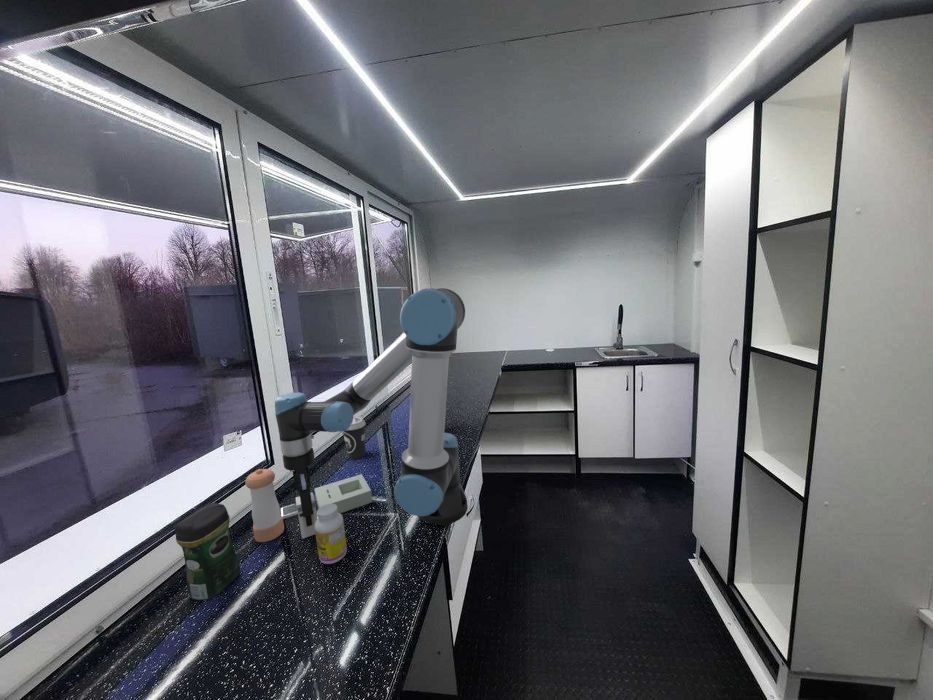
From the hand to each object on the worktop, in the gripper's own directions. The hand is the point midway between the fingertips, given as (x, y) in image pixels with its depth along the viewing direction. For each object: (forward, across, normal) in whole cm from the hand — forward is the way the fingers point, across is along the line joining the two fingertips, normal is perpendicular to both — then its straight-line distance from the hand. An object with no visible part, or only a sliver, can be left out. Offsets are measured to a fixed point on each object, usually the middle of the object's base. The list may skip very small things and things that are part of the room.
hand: (309, 528), depth 98 cm
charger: (+1, 0, 0) cm, 1 cm away
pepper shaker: (+1, +6, +10) cm, 11 cm away
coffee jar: (+1, -8, +21) cm, 22 cm away
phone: (+1, +13, +2) cm, 13 cm away
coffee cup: (+1, +40, -22) cm, 45 cm away
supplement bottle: (+1, -14, -4) cm, 14 cm away
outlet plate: (+1, +10, -11) cm, 15 cm away
